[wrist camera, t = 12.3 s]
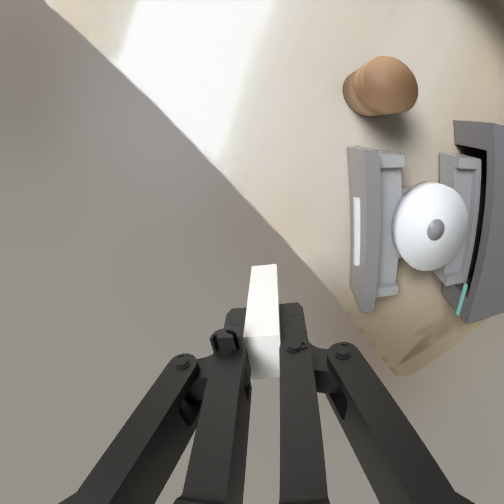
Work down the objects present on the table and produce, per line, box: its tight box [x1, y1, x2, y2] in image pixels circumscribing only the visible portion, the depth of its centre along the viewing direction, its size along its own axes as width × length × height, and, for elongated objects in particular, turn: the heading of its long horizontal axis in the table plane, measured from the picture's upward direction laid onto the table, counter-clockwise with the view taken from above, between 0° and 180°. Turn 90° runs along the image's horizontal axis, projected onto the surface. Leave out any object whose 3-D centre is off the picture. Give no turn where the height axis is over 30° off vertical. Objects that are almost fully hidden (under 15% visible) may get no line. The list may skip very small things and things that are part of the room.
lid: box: [391, 181, 468, 271], centre depth 21 cm, size 8×8×2 cm
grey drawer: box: [347, 147, 481, 313], centre depth 22 cm, size 14×14×5 cm
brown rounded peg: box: [343, 56, 418, 116], centre depth 17 cm, size 4×4×6 cm
